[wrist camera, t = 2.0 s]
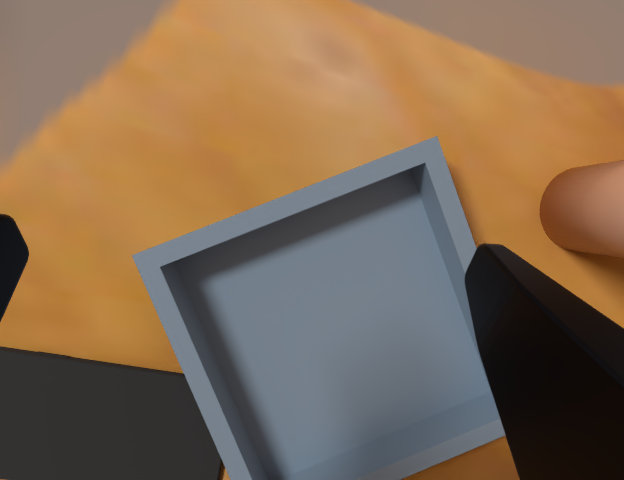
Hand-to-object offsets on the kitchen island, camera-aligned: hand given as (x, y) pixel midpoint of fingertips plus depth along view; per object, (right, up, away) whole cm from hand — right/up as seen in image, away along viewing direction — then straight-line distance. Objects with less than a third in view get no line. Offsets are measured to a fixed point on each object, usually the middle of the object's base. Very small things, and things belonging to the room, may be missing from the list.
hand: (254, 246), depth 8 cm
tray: (+3, -5, +15) cm, 16 cm away
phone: (-11, -10, +15) cm, 22 cm away
